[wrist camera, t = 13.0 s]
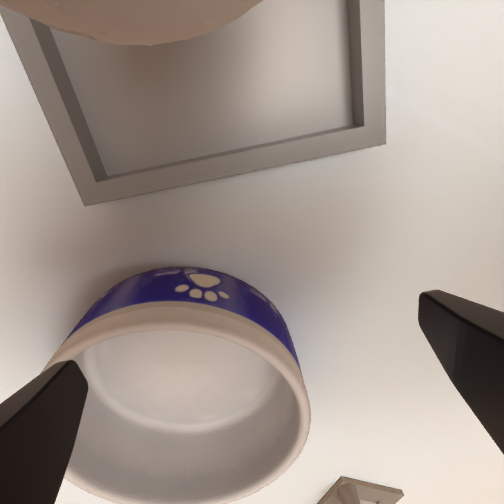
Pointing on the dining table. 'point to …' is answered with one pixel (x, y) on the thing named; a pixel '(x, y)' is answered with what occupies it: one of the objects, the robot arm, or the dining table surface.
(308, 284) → the dining table surface
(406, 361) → the dining table surface
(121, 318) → the dog bowl
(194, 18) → the lollipop
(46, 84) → the tray
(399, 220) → the dining table surface
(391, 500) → the skyscraper
